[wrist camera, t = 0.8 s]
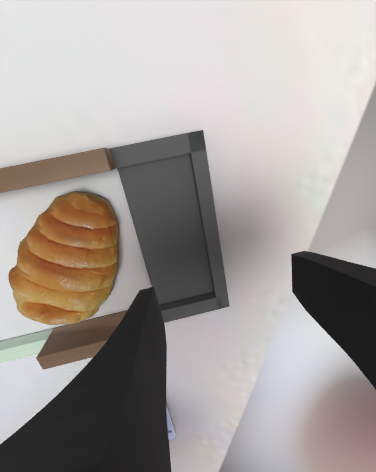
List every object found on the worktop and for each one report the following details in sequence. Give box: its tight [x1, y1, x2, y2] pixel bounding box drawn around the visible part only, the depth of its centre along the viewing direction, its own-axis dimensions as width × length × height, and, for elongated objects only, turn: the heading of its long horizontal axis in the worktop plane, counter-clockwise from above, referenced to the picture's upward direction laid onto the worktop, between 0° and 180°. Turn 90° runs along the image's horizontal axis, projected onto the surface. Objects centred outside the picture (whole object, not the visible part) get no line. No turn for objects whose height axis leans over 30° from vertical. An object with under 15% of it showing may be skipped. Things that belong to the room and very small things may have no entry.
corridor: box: [0, 148, 128, 369], centre depth 16 cm, size 14×9×3 cm, turn 11°
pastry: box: [9, 191, 118, 325], centre depth 16 cm, size 9×7×4 cm
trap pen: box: [110, 130, 229, 323], centre depth 17 cm, size 14×6×1 cm, turn 11°
